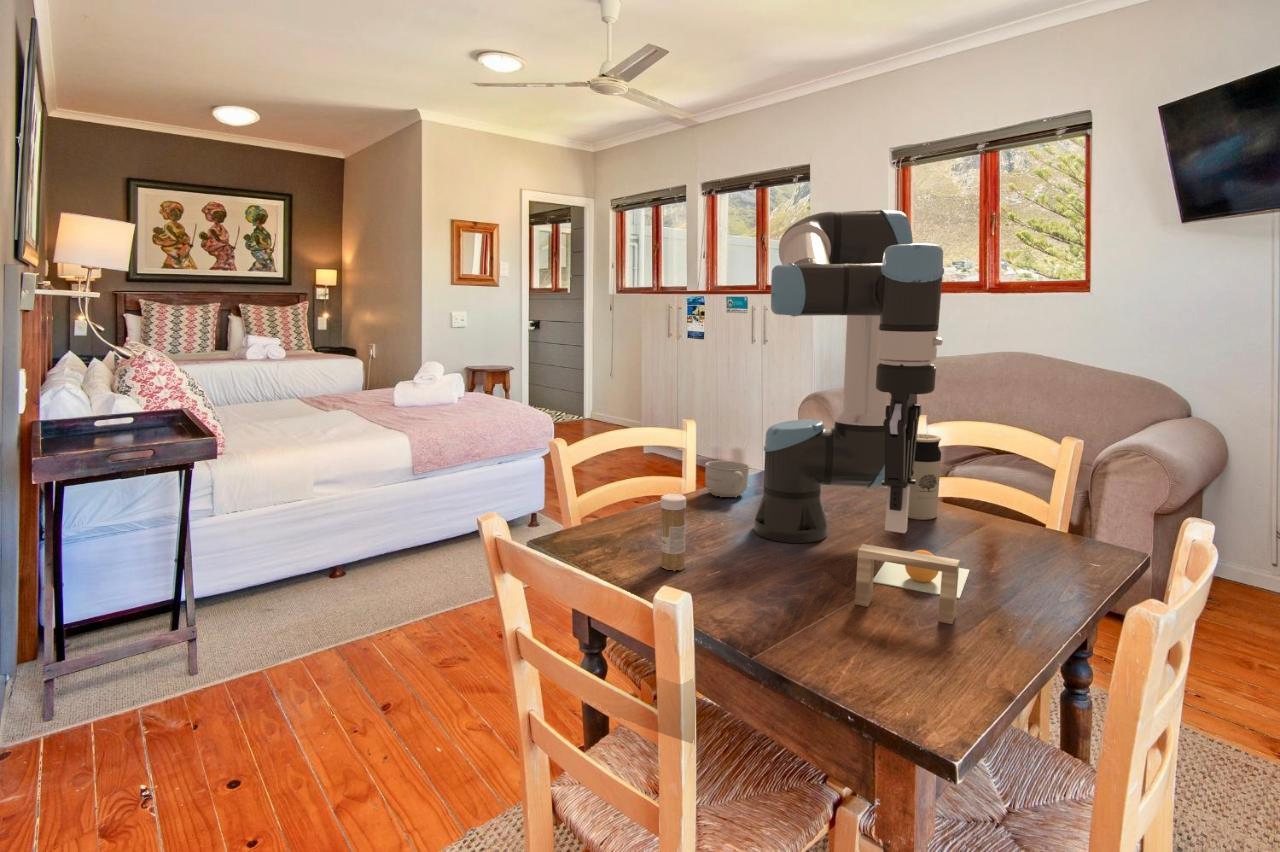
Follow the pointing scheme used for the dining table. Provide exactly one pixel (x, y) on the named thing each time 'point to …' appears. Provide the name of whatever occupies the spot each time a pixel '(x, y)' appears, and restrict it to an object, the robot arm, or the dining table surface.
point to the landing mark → (900, 578)
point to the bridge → (910, 559)
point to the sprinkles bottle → (673, 531)
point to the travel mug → (925, 478)
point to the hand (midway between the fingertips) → (895, 530)
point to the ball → (921, 570)
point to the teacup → (726, 478)
